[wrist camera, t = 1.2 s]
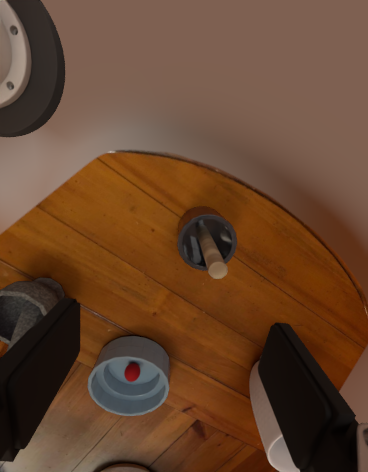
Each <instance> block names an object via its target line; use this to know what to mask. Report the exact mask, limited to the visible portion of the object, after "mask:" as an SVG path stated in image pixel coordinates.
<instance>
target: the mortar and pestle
mask: <svg viewBox="0 0 368 472" xmlns="http://www.w3.org/2000/svg"><path fill="white" fill-rule="evenodd" d="M64 296H65V293H64V291H63V289H62V287H61V285H60V284H59V283H57V282H56V281H54V280H53V279H51V278H40V277H39V278H37V279H36V280H34V281H18V282H15V283H13V284H10V285H8V286H6V287H5V288H3V289H1V290H0V340H1V341H3V342H5V343H7V344H9V347H8V349H7V351H8V350H9V349H10V348H11V347H12V346H13V345H14V344H15V343H16V342H17V341H18V340H19V339H20V338H21V337H22V336H23V335H24V334H25V333H26V332H27V331H28V330H29V329H30V328H31V327H33V326H36V325H37V323H38V322H39V321H40V320H41V319H42V318H43V317H44V316H45V315H46V314H47V313H48V312H49V311H50V310H51V309H52V308H53V307H54V306H55V305H56V304H57V303H58V302H59V301H60V300H61V299H62V298H64Z"/></svg>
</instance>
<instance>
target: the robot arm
mask: <svg viewBox="0 0 368 472" xmlns="http://www.w3.org/2000/svg"><path fill="white" fill-rule="evenodd" d="M31 64H32V60H31V49H30V45H29V41H28V37H27V34H26V32H25V29H24V27H23V24H22V23H21V21H20V19H19V17H18V15H17V14H16V12H15V11H14V9H13V8H12V7H11V6H10V4H9V3H8V2H7V0H0V108H2V107H5V106H8V105H10V104H11V103H13V102H14V101H16V100H17V99H18V98H19V97H20V96H21V94H22V93H23V92H24V90H25V88H26V86H27V84H28V81H29V78H30V74H31ZM79 351H80V303H77V300H76V299H70V298H62V299H61V300H60V301H59V302H58V303H57V304H56V305H55V306H54V307H53V308H52V309H51V310H50V311H49V312H48V313H47V314H46V315H45V316H44V317H43V318H42V319H41V320H40V321H39V322H38V323H37V325H36V326H33V327H31V328H30V329H29V330H28V331H27V332H26V333H25V334H24V335H23V336H22V337H21V338H20V339H19V340H18V341H17V342H16V343H15V344H14V345H13V346H12V347H11V348H10V349H9V350H8V351H7V352H6V353H5V354H4V355H3V356H2V357H1V358H0V461H9V462H13V461H14V459H15V457H16V455H17V454H18V452H19V450H20V449H24V448H25V447H26V446H27V445H28V443H29V442H30V440H31V438H32V436H33V435H34V433H35V431H36V429H37V427H38V426H39V424H40V422H41V420H42V419H43V417H44V415H45V413H46V412H47V410H48V408H49V406H50V404H51V403H52V401H53V399H54V397H55V396H56V394H57V392H58V390H59V388H60V387H61V385H62V383H63V381H64V380H65V378H66V376H67V374H68V373H69V371H70V369H71V367H72V365H73V364H74V362H75V360H76V358H77V357H78V354H79ZM258 374H259V377H260V379H261V382H262V384H263V387H264V390H265V392H266V395H267V397H268V400H269V402H270V405H271V407H272V410H273V412H274V415H275V418H276V420H277V423H278V425H279V428H280V430H281V433H282V435H283V438H284V441H285V443H286V446H287V448H288V451H289V453H290V456H291V458H292V461H293V463H294V465H295V466H296V468H298V469H299V470H300V472H368V423H361V424H358V422H357V421H356V420H355V416H356V415H355V414H354V412H353V411H352V410H351V408H350V407H349V406H348V404H347V403H346V402H345V400H344V399H343V397H342V396H341V395H340V393H339V392H338V390H337V389H336V388H335V386H334V385H333V384H332V382H331V381H330V379H329V378H328V377H327V375H326V374H325V373H324V371H323V370H322V369H321V367H320V366H319V364H318V363H317V362H316V360H315V359H314V358H313V356H312V355H311V353H310V352H309V351H308V349H307V348H306V347H305V345H304V344H303V342H302V341H301V340H300V338H299V337H298V336H297V334H296V333H295V331H294V330H293V329H292V327H291V326H290V325H289V324H286V323H275V324H274V325H272V326H271V328H270V331H269V334H268V337H267V340H266V343H265V346H264V349H263V352H262V355H261V358H260V361H259V364H258Z"/></svg>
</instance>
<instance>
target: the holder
mask: <svg viewBox="0 0 368 472" xmlns="http://www.w3.org/2000/svg"><path fill="white" fill-rule="evenodd" d="M200 225H205V226H206V227H207V229H208V231H209V233H210V235H211V236H212V238H213V240H214V242H215V244H216V246H217V248H218V250H219V252H220V254H221V256H222V258H223V260H224V262H225V264H226V263H227V262H228V261H229V260H230V259H231V258H232V256H233V254H234V253H235V250H236V245H237V238H236V233H235V231H234V229H233V227H232V225H231V224H230V223H229V222H228V221H227V220H226V219H225V218H224V217H223V216H222V215H221V214H220V213H219V212H217V211H216V210H215V209H213V208H210V207H207V206H198V207H194V208H192V209H190V210H188V211H187V212H186V213H185V214H184V215H183V216H182V218H181V220H180V222H179V226H178V242H177V246H178V250H179V254H180V256H181V257H182V259H183V260H184V262H185V263H187V264H188V265H190V266H191V267H192V268H195V269H199V270H203V271H204V270H208V269H207V266H206V262H205V259H204V256H203V252H202V249H201V245H200V242H199V239H198V235H197V232H196V229H197V227H198V226H200Z"/></svg>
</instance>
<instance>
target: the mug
mask: <svg viewBox="0 0 368 472" xmlns="http://www.w3.org/2000/svg"><path fill="white" fill-rule="evenodd" d="M260 358H261V356H260ZM259 361H260V360H259ZM259 361H258V362H256V363H255V364H254V366H253V367H252V370H251V374H250V380H249V381H250V382H249V383H250V385H249V386H250V396H251V402H252V408H253V412H254V416H255V420H256V424H257V426H258V430H259V434H260V436H261V440H262V443H263V445H264V448H265V452H266V455H267V458H268V460H269V462H270V464H271V465H272V466H273V467H274V468H275V469H277V470H278V471H280V472H300V470H299V469H298V468H296V466H295V465H294V463H293V461H292V458H291V456H290V453H289V451H288V448H287V446H286V443H285V441H284V438H283V435H282V433H281V430H280V428H279V425H278V423H277V420H276V418H275V415H274V412H273V410H272V407H271V405H270V402H269V400H268V397H267V395H266V392H265V390H264V387H263V384H262V382H261V379H260V377H259V374H258V364H259Z"/></svg>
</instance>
